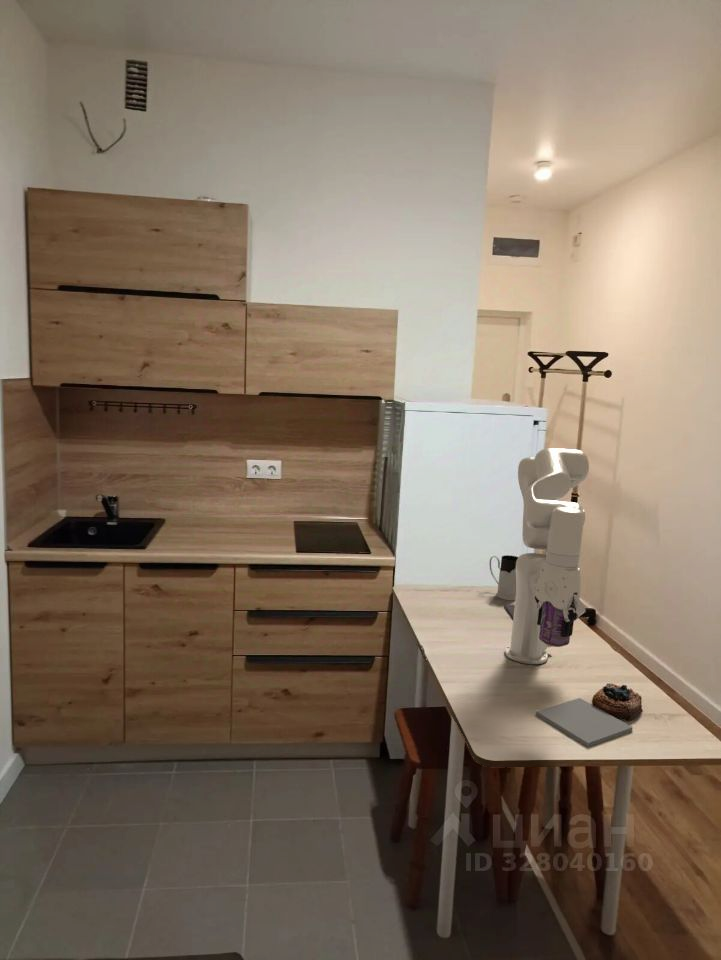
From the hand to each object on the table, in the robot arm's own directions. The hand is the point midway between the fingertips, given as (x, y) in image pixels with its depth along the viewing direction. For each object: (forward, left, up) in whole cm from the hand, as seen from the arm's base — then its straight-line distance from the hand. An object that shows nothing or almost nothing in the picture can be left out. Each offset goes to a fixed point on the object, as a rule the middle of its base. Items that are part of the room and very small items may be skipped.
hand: (554, 629), depth 164 cm
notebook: (-47, -51, -23) cm, 73 cm away
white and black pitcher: (-56, -74, -23) cm, 96 cm away
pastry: (-21, +5, -23) cm, 31 cm away
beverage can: (0, 0, -4) cm, 4 cm away
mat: (-6, +7, -23) cm, 24 cm away
